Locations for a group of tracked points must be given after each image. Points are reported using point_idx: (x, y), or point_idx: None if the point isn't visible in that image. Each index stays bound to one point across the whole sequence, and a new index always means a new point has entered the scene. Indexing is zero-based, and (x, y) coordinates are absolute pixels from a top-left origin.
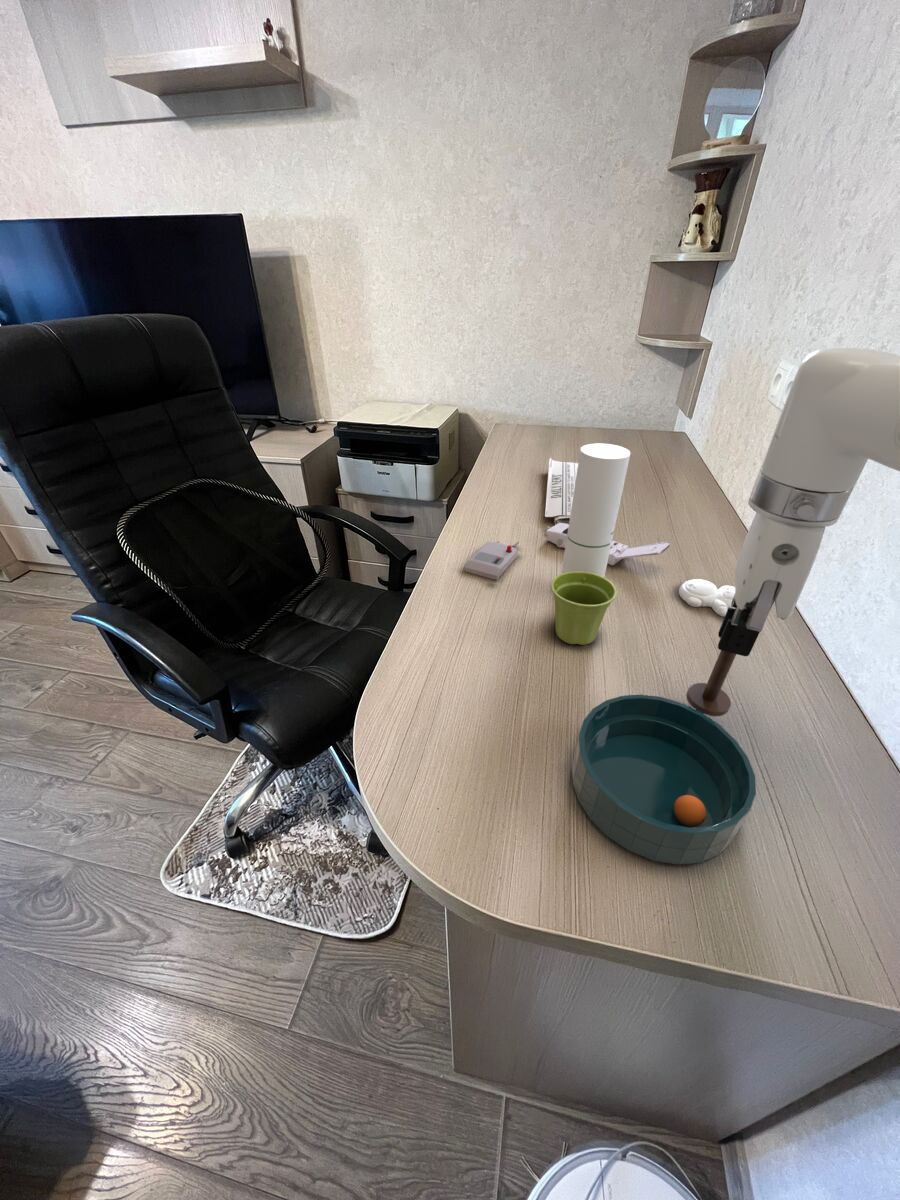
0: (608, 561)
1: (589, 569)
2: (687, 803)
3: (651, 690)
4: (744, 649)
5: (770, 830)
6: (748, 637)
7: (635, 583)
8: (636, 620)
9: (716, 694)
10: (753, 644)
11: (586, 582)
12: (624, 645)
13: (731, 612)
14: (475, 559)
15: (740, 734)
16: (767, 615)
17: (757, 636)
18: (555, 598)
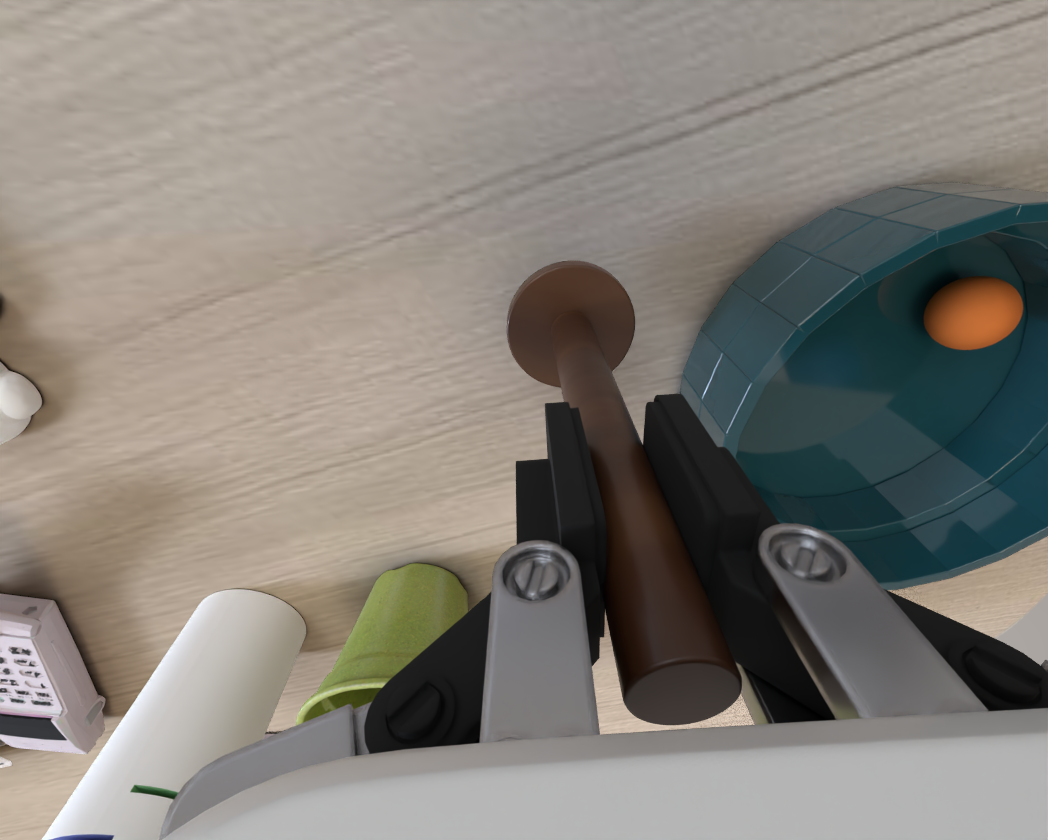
0: (55, 619)
1: (244, 714)
2: (1001, 337)
3: (527, 426)
4: (727, 450)
5: (936, 83)
6: (763, 511)
7: (82, 540)
8: (260, 505)
9: (592, 328)
10: (705, 433)
11: (323, 710)
12: (390, 507)
13: (603, 635)
14: None
15: (591, 190)
16: (968, 687)
17: (732, 470)
18: None
